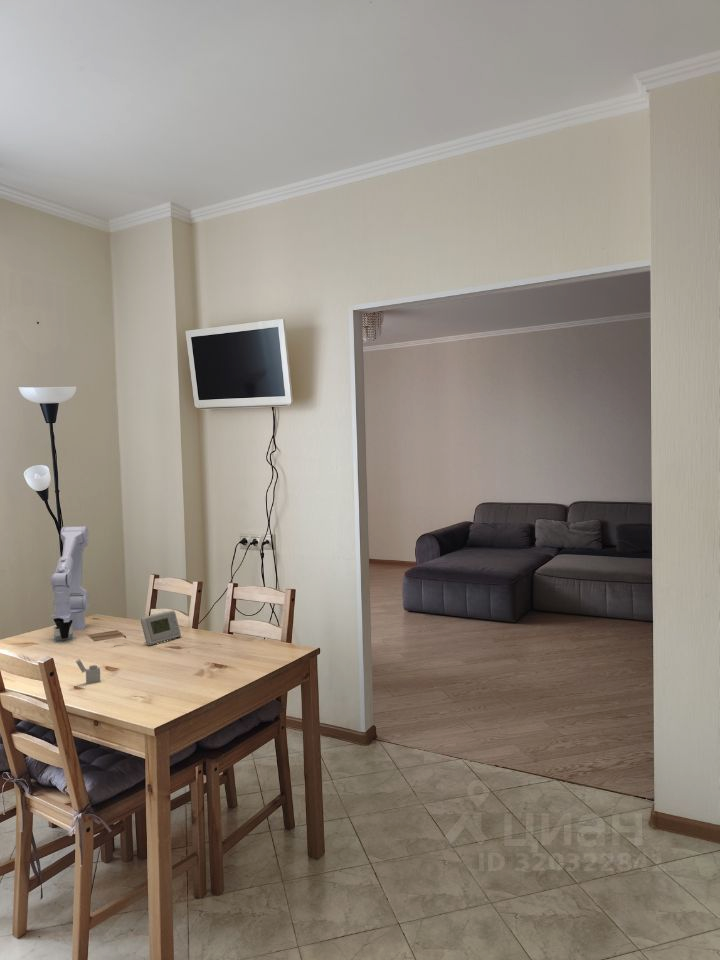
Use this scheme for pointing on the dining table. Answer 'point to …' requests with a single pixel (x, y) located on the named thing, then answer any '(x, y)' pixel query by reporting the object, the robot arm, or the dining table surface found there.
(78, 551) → the robot arm
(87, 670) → the lighter
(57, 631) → the housing
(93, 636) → the walnut stand
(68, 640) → the grey stand
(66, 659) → the dining table surface
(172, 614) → the digital clock
